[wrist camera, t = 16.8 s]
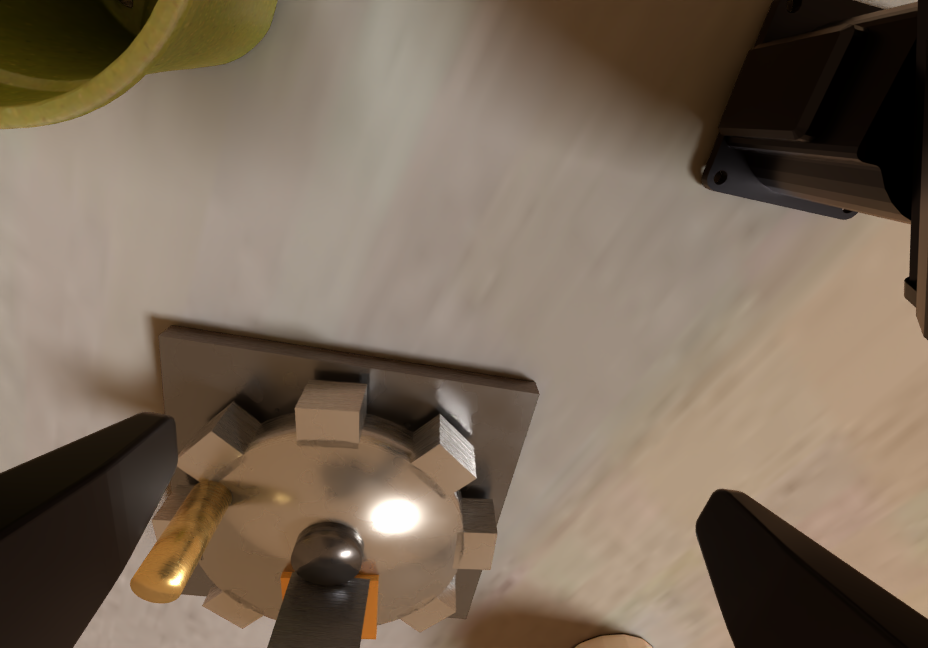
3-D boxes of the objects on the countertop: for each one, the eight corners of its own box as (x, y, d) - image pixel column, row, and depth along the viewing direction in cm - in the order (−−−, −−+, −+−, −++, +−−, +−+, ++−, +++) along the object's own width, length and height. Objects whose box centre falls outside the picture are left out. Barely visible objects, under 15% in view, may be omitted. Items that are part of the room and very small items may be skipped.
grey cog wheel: (266, 316, 17) (186, 406, 12) (554, 478, 22) (591, 600, 16) (130, 542, 22) (29, 680, 17) (388, 639, 26) (374, 775, 21)
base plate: (535, 382, 21) (539, 394, 20) (465, 602, 27) (466, 619, 26) (172, 325, 19) (158, 335, 18) (189, 577, 25) (179, 593, 25)
